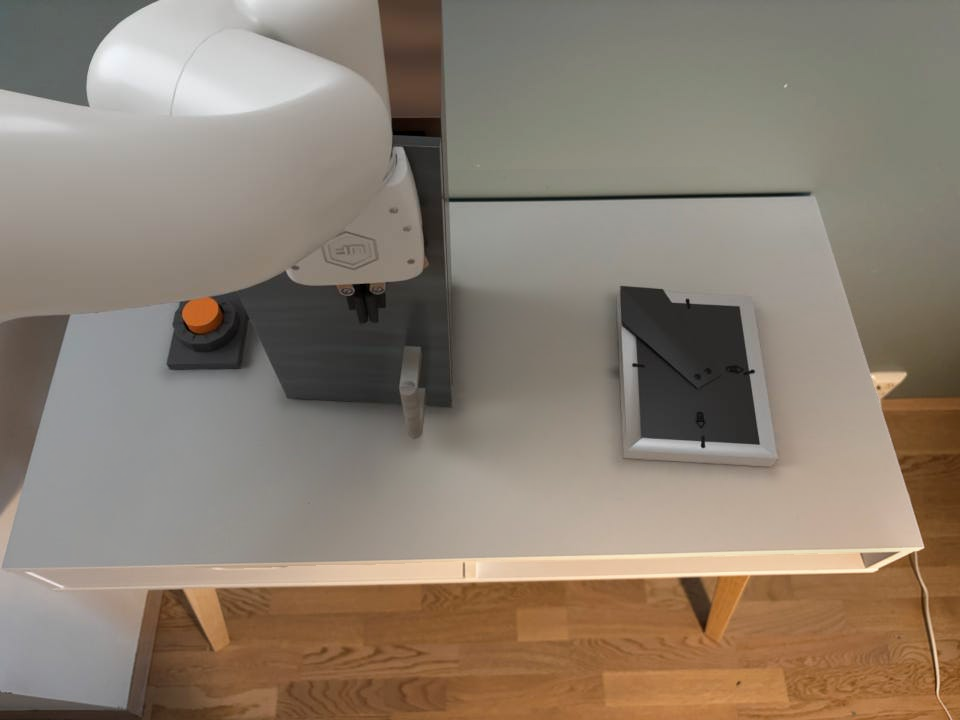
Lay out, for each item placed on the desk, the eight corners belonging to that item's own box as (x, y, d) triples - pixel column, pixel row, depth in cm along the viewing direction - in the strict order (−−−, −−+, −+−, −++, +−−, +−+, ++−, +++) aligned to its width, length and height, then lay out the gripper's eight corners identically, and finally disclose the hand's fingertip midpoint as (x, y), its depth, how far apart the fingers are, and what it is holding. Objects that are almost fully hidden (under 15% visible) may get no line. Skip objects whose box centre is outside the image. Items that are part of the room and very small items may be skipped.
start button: (220, 334, 83) (215, 325, 81) (184, 334, 83) (179, 326, 81) (225, 304, 85) (221, 296, 83) (190, 305, 85) (185, 296, 83)
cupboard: (452, 386, 83) (441, 117, 49) (288, 388, 82) (165, 119, 49) (451, 285, 90) (441, -10, 56) (300, 287, 89) (201, -9, 56)
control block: (240, 368, 83) (233, 355, 81) (169, 369, 83) (160, 356, 81) (252, 296, 88) (245, 281, 86) (185, 297, 88) (176, 282, 86)
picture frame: (616, 299, 89) (623, 458, 78) (620, 285, 86) (628, 447, 76) (746, 306, 89) (771, 467, 78) (754, 292, 86) (780, 456, 76)
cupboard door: (448, 451, 78) (432, 208, 46) (277, 441, 79) (139, 194, 46) (452, 398, 82) (441, 136, 49) (288, 390, 82) (166, 123, 49)
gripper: (208, 195, 44) (277, 352, 60) (456, 184, 45) (459, 341, 61) (221, 109, 48) (282, 278, 64) (449, 100, 49) (454, 269, 64)
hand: (369, 309), depth 62 cm, fingers closed
